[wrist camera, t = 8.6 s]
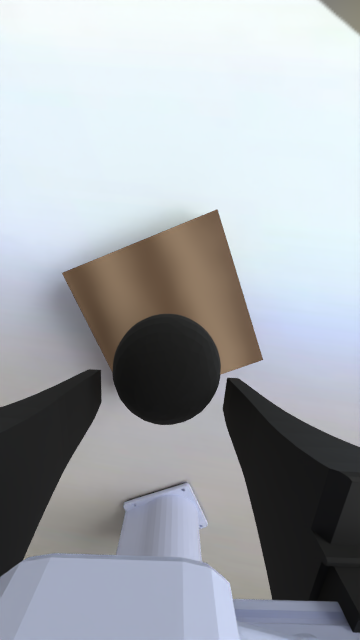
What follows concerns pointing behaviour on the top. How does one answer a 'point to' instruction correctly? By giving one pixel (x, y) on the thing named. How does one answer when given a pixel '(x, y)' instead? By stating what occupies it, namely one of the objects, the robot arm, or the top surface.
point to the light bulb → (166, 369)
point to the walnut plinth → (169, 289)
